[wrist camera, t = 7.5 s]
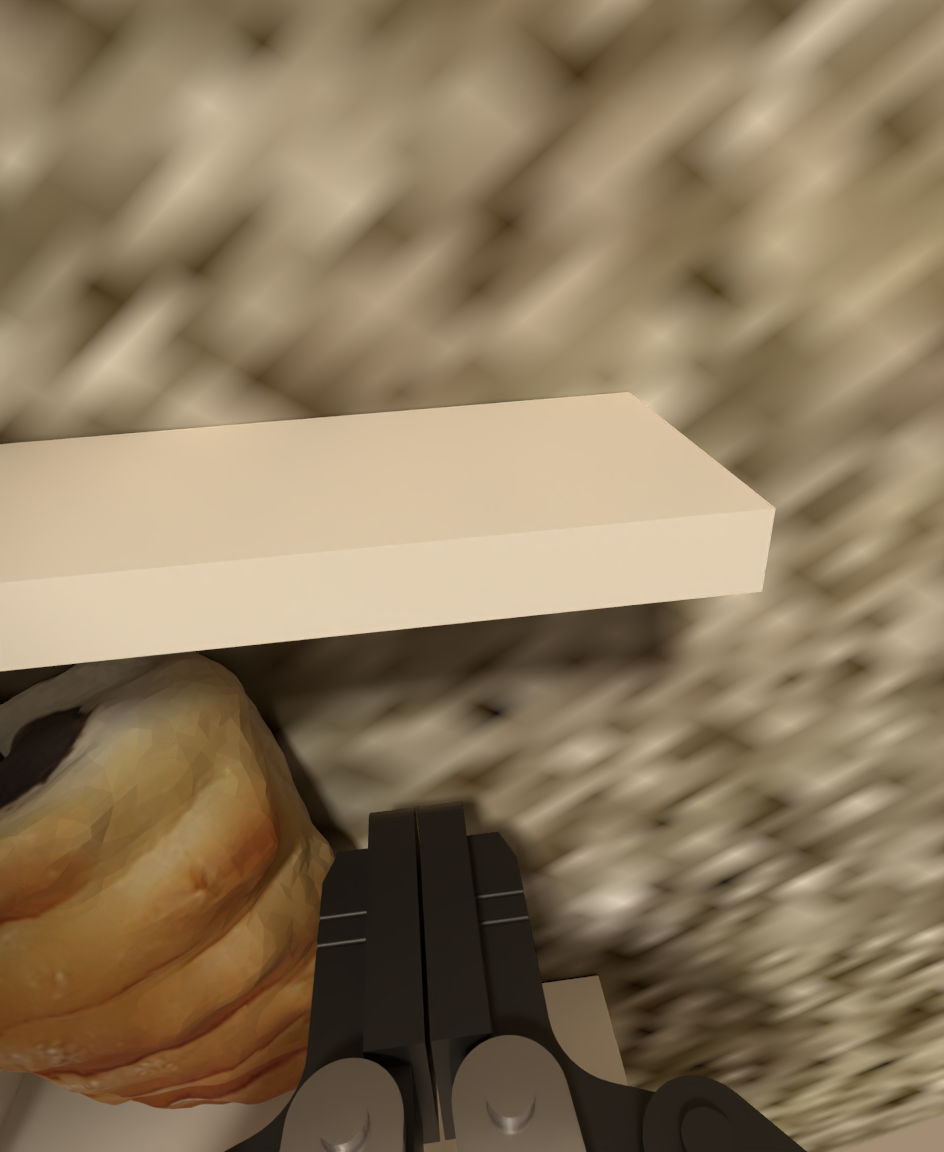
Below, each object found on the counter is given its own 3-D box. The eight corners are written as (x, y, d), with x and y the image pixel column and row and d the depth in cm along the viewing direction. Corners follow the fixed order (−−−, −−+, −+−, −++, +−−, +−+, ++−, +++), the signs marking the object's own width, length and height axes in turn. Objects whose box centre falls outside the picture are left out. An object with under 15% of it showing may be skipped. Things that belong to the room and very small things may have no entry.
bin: (-413, 478, 8) (-977, 677, 5) (629, 392, 9) (776, 508, 6) (6, 1082, 15) (-110, 1352, 11) (597, 996, 16) (657, 1223, 12)
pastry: (431, 951, 15) (444, 1169, 12) (139, 1040, 15) (69, 1276, 12) (221, 592, 10) (142, 779, 7) (-187, 731, 11) (-444, 970, 7)
